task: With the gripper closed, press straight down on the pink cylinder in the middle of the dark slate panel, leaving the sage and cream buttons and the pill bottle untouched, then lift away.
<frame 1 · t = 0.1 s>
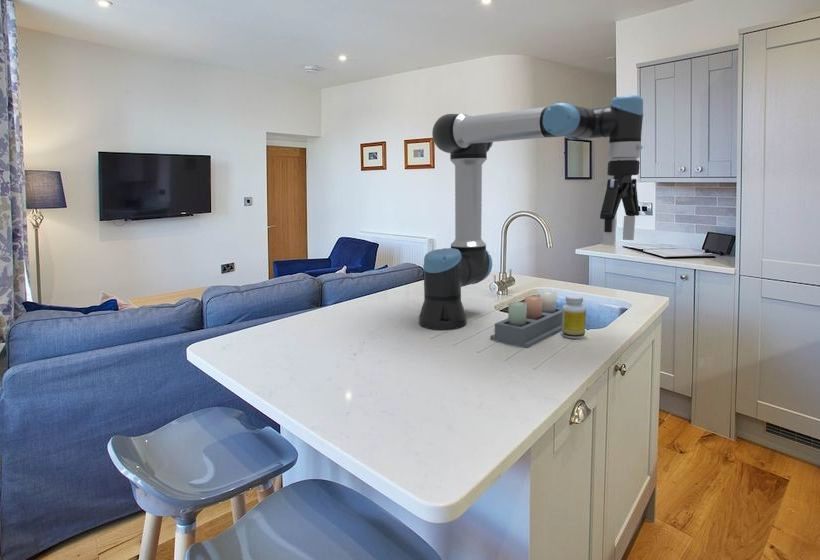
hand: (618, 242, 133), 28 cm above the worktop, fingers open, 13 cm apart
pill bottle: (572, 336, 146), on the worktop
button cream: (547, 302, 155), point 8 cm above the worktop, slide at 0.0 cm
pink cylinder: (533, 307, 148), point 8 cm above the worktop, slide at 0.0 cm
button sage: (517, 314, 142), point 7 cm above the worktop, slide at 0.0 cm
button panel: (532, 332, 150), on the worktop
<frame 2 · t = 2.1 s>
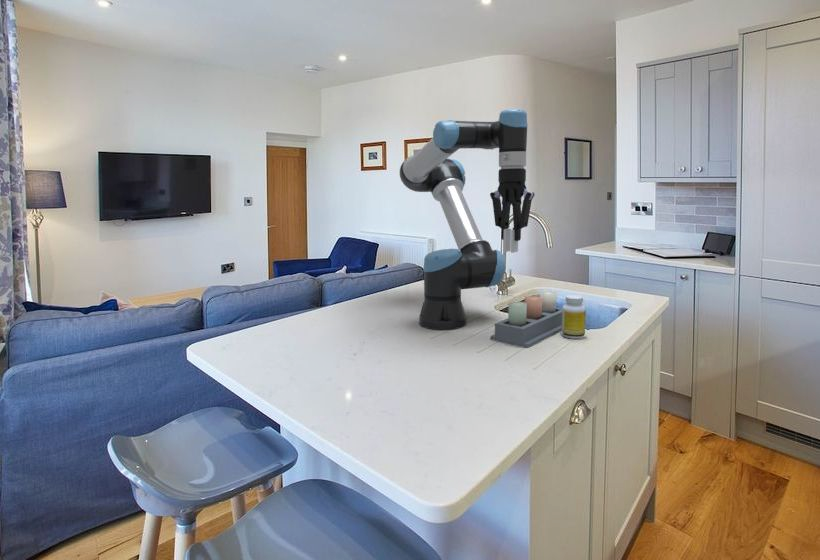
hand: (510, 251, 145), 24 cm above the worktop, fingers closed
nothing on the worktop moved.
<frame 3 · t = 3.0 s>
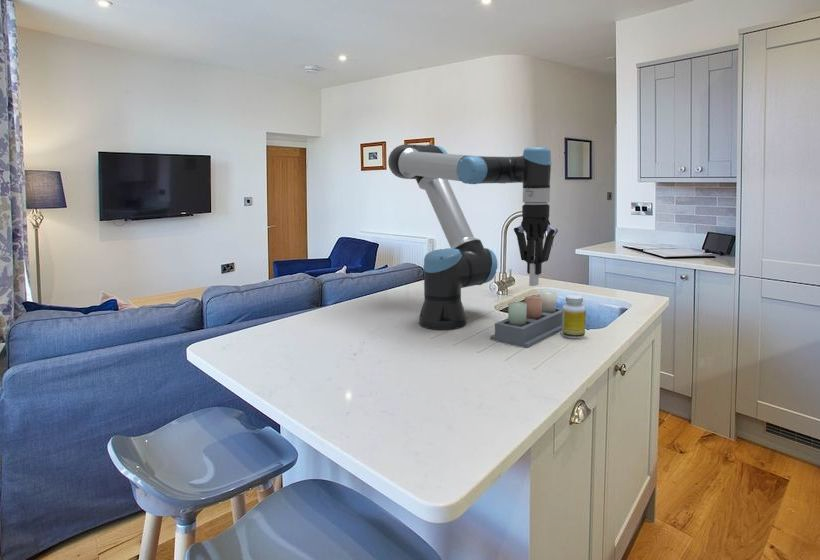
hand: (533, 285, 147), 14 cm above the worktop, fingers closed
nothing on the worktop moved.
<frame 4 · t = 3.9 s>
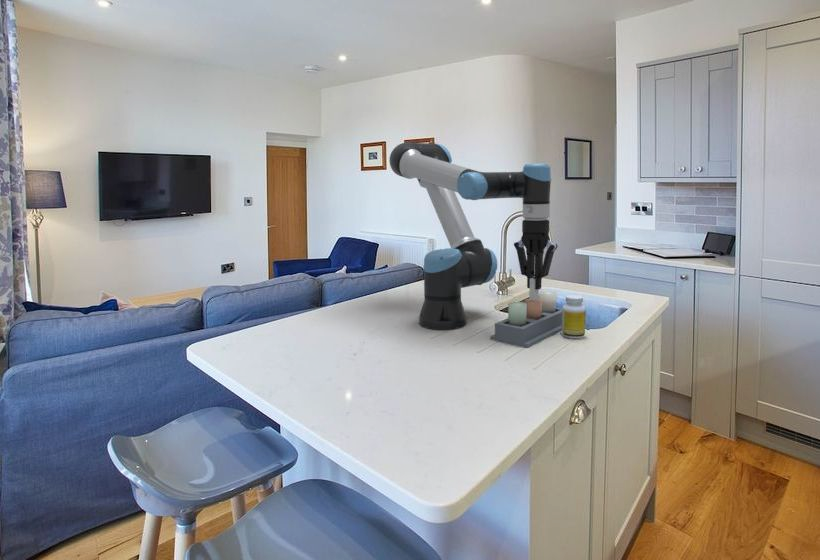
hand: (533, 299, 148), 10 cm above the worktop, fingers closed
pink cylinder: (533, 310, 148), point 7 cm above the worktop, slide at 0.7 cm, touching gripper
everything else where it was.
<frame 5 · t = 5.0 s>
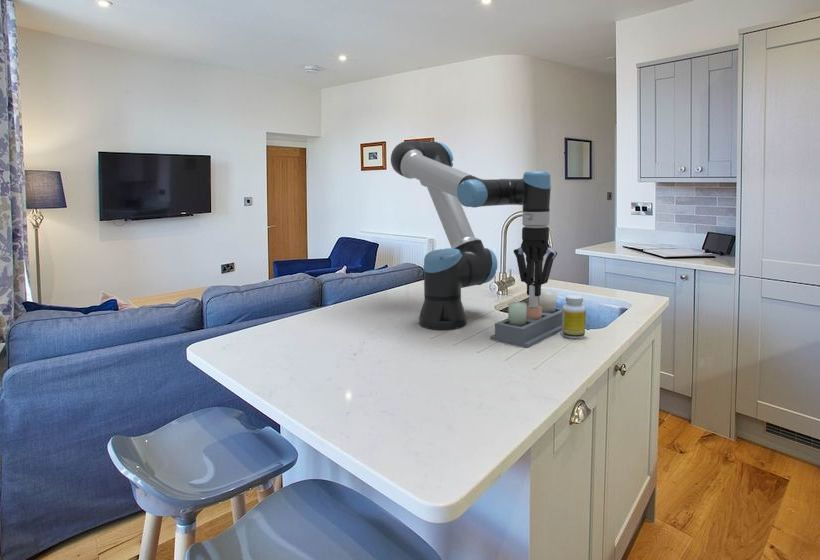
hand: (533, 306, 148), 8 cm above the worktop, fingers closed
pink cylinder: (532, 317, 149), point 5 cm above the worktop, slide at 2.8 cm, touching gripper
everything else where it was.
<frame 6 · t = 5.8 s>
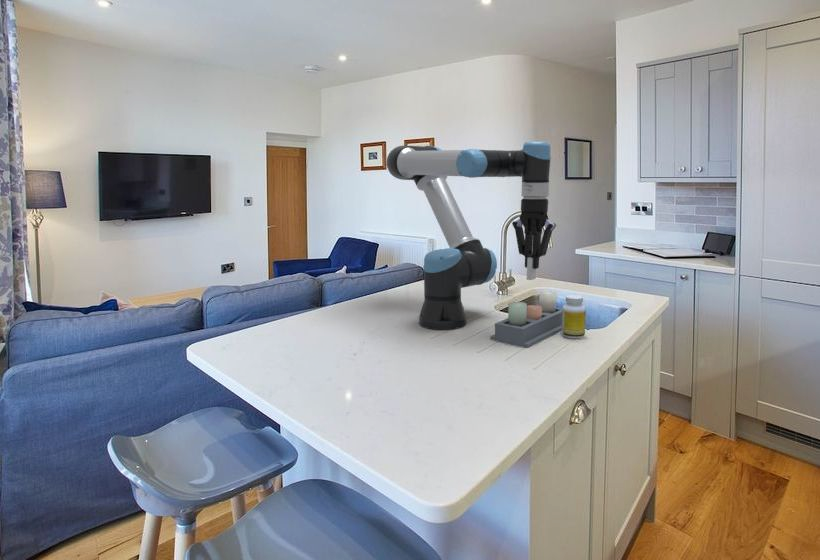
hand: (531, 279, 148), 16 cm above the worktop, fingers closed
pink cylinder: (532, 317, 149), point 5 cm above the worktop, slide at 2.8 cm
everything else where it was.
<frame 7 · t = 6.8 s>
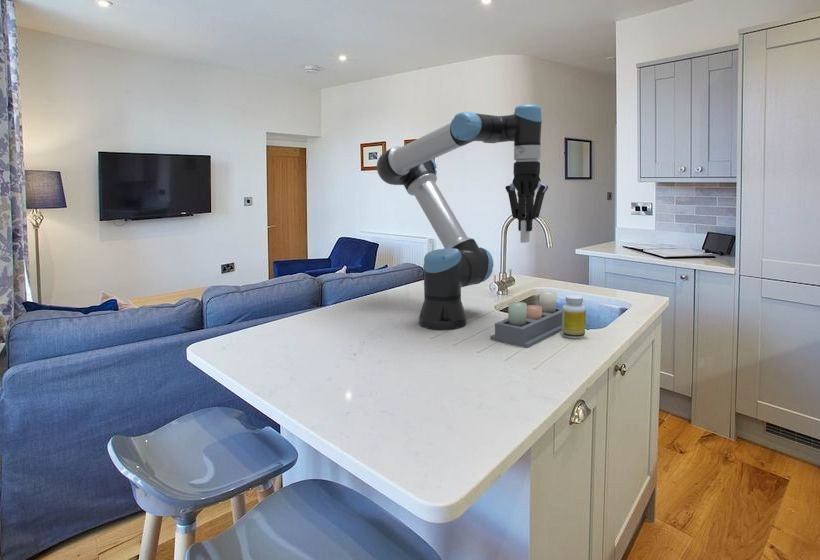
hand: (524, 242, 150), 26 cm above the worktop, fingers closed
nothing on the worktop moved.
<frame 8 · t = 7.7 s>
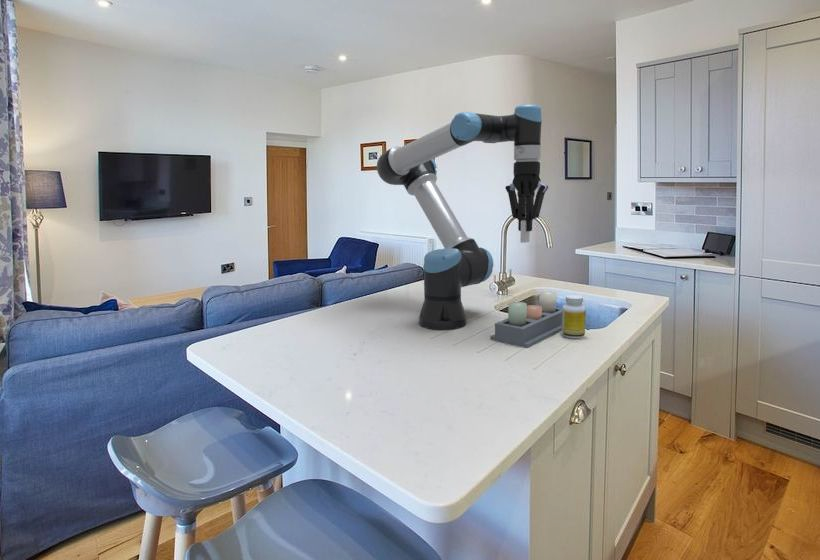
hand: (524, 242, 150), 26 cm above the worktop, fingers closed
nothing on the worktop moved.
at the end: pink cylinder slide at 2.8 cm; button sage slide at 0.0 cm; button cream slide at 0.0 cm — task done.
